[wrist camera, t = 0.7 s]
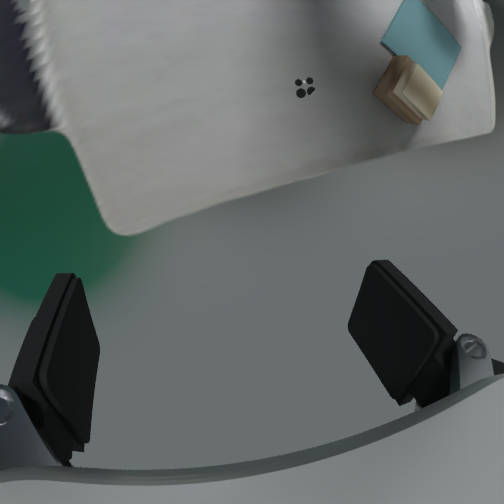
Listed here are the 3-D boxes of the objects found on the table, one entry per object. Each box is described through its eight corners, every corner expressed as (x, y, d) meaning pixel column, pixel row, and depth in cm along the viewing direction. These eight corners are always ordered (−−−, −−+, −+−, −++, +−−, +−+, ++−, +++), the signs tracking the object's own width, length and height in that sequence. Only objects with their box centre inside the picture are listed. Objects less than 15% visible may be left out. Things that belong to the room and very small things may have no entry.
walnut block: (393, 55, 31) (407, 55, 28) (424, 85, 34) (438, 87, 31) (373, 93, 33) (386, 95, 31) (405, 122, 36) (419, 125, 34)
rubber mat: (408, -10, 26) (410, -10, 25) (459, 47, 31) (461, 47, 31) (380, 41, 30) (382, 41, 29) (436, 97, 35) (438, 97, 35)
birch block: (407, 63, 29) (417, 63, 27) (433, 90, 31) (443, 92, 30) (392, 91, 31) (402, 92, 29) (420, 118, 33) (430, 120, 31)
